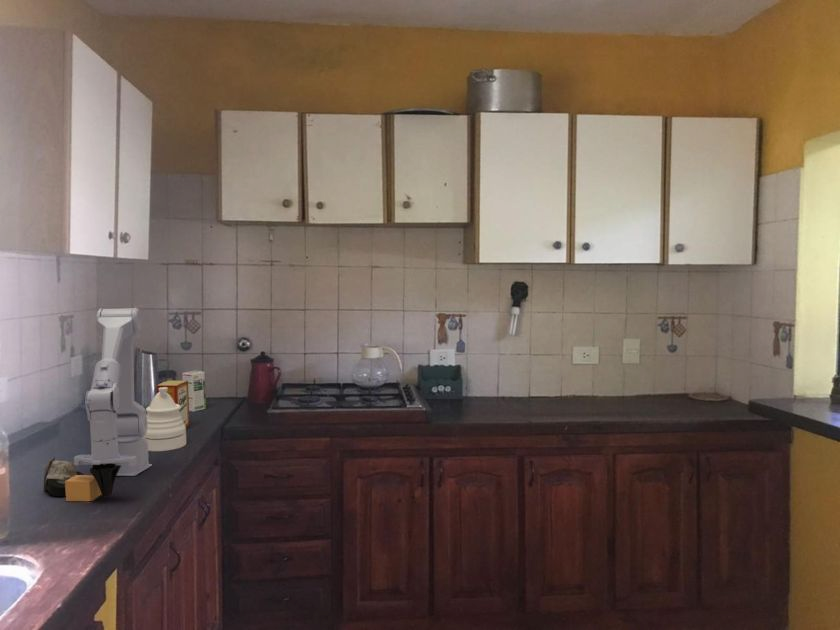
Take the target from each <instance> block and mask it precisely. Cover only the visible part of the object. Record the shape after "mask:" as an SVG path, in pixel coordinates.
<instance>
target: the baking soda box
mask: <svg viewBox="0 0 840 630" xmlns="http://www.w3.org/2000/svg"><path fill="white" fill-rule="evenodd" d="M162 387H167V388H168V390H167V393H168V394H169V395H170V396H171V397H172V399H173V400H174V402H175V404H178V405H180V406H181V409H180V410H179V413H180V415H181V416H182V420H183V423H184V425H185V427H186V429H188V427H190V423H191V422H190V411H189V395H188V380H183V379H181V380H178V379H177V380H173V379H172V380H167V381H163V382H161V383H159V384H157V385H156V394H157V393H159V388H162Z"/></svg>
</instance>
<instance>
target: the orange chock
mask: <svg viewBox="0 0 840 630" xmlns="http://www.w3.org/2000/svg"><path fill="white" fill-rule="evenodd" d="M65 490H66V497H65V502H66V501H92V500H93V501H95V500H96V499H95V498H97V497H98V496H100V495H101V496H102V494H101V491H100V488H99V486H98V483H97V481H96V480H95V478H94V476H93V475H92V474H91V475H87V474H84V475H76V476H74V477H72V478H70V479H68V480H66V481H65ZM101 496H100V497H101ZM98 498H99V497H98ZM98 498H97V499H98ZM94 499H95V500H94ZM93 501H92V502H93Z"/></svg>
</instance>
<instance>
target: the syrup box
mask: <svg viewBox="0 0 840 630" xmlns="http://www.w3.org/2000/svg"><path fill="white" fill-rule="evenodd" d="M205 375H206V374H205V371H203V370H192V371H186V372H182V380H188V395H189V412H198V411H202V410H206V409H207V401H206V380H205Z"/></svg>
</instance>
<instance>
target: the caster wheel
mask: <svg viewBox="0 0 840 630" xmlns="http://www.w3.org/2000/svg"><path fill="white" fill-rule="evenodd" d="M55 458H56V455H53V457H51V459H50V460H49V462H48V463H47V464H46V465H45V467H44V470H43V471H44V474H43V477H44V479H43V492H44V491H45V492H46V491H48V493H50V494H51V495H52V496H55V497H59V496H66V490H65V481H66V480H68V479H70V478H72V477H74V476H76V475H85V474H84V473H83V472H81V471H78V470H77V465H74V461H67V460H55Z"/></svg>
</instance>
